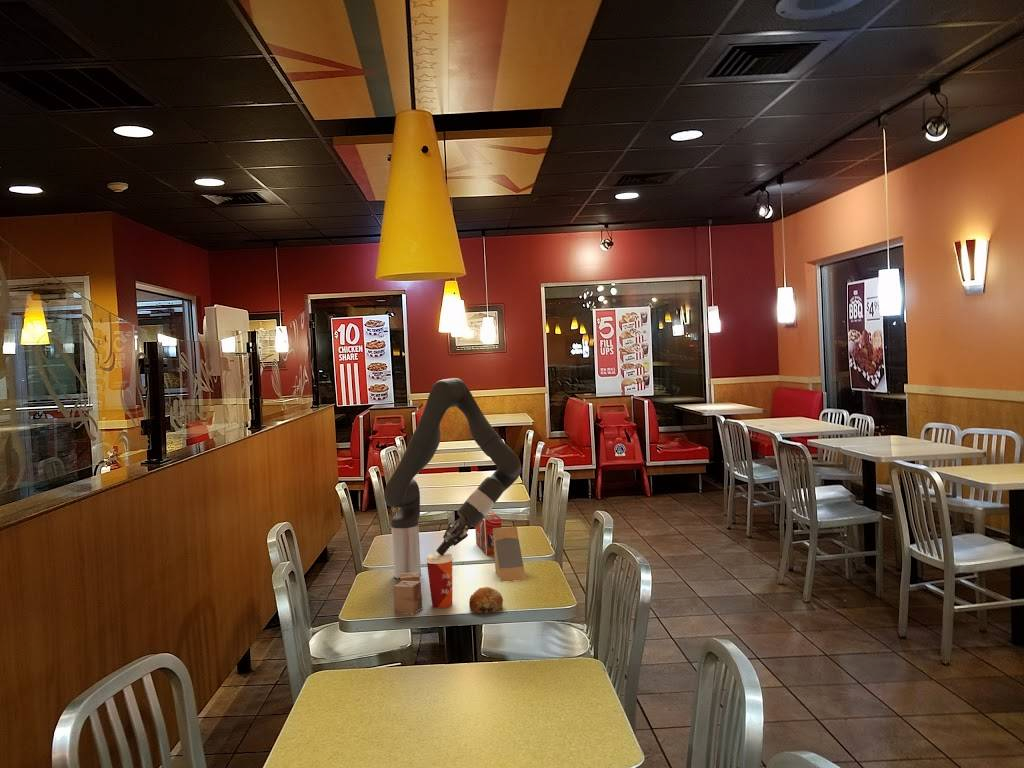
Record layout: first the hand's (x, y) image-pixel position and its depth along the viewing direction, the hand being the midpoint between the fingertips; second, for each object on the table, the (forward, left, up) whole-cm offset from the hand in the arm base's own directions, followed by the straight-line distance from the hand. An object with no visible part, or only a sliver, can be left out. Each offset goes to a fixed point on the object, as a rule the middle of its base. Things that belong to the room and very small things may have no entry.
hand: (439, 553), depth 245 cm
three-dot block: (+5, -9, -16) cm, 19 cm away
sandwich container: (-33, +16, -16) cm, 40 cm away
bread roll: (+3, +14, -16) cm, 21 cm away
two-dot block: (-5, -11, -16) cm, 20 cm away
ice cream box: (-72, +2, -16) cm, 74 cm away
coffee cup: (0, 0, -16) cm, 16 cm away
